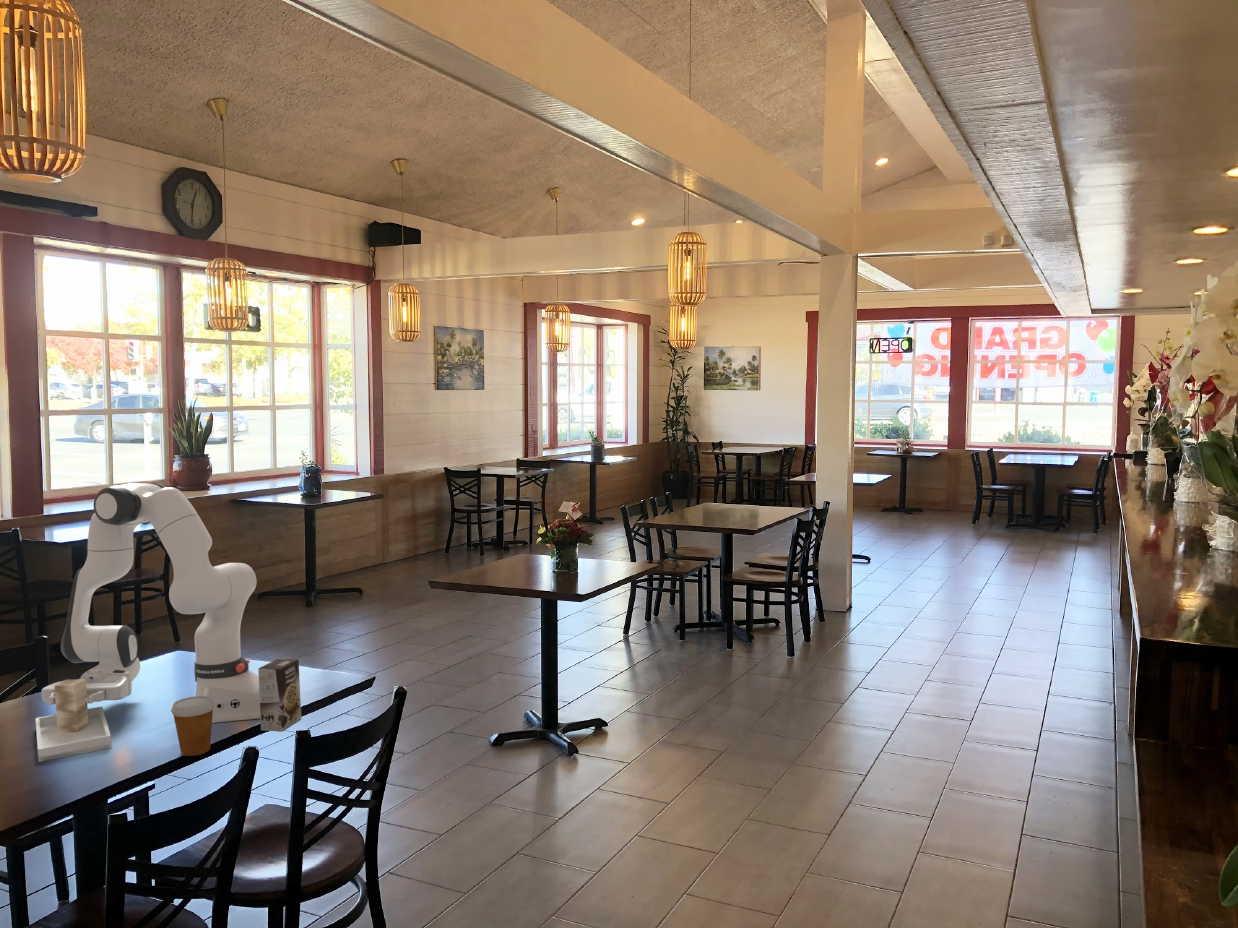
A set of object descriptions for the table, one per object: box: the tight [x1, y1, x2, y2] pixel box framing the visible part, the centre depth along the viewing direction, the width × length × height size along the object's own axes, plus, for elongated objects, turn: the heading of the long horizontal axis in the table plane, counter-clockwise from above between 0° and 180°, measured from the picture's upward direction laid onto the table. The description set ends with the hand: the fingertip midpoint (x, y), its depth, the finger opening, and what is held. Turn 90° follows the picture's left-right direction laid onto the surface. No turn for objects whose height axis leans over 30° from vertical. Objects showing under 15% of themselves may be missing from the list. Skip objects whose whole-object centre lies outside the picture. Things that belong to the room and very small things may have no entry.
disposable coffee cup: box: [170, 695, 215, 757], centre depth 223 cm, size 10×10×12 cm
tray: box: [35, 706, 112, 763], centre depth 234 cm, size 26×15×3 cm, turn 33°
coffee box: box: [257, 658, 302, 733], centre depth 239 cm, size 9×6×16 cm
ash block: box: [54, 678, 89, 733], centre depth 238 cm, size 5×5×12 cm
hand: (69, 700), depth 237 cm, fingers open, 8 cm apart
